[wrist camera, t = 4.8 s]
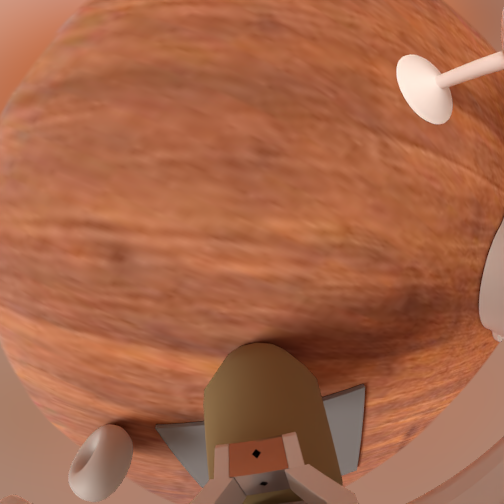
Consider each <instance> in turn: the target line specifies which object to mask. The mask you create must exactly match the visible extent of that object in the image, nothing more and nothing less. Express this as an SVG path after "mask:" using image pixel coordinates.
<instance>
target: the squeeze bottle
mask: <svg viewBox="0 0 504 504" xmlns="http://www.w3.org/2000/svg"><path fill="white" fill-rule="evenodd" d="M203 407H204V425H205V439H206V452H207V464H208V475H209V480H210V479H214V459H215V447H216V445H221V444H231V443H239V442H247V441H254V440H257V439H263V438H268V437H272V436H277V435H281V434H282V435H283V434H287V433H291V432H296V434H297V438H298V441H299V445H300V449H301V452H302V456H303V460H304V464H305V465H307V464H310V465H311V466H312V467H314V468H315V469H317V470H318V471H320V472H321V473H323V474H324V475H326V476H327V477H329V478H330V479H332V480H333V481H335V482H337V483H338V484H340V485H341V486H342V476H341V472H340V468H339V464H338V459H337V455H336V451H335V447H334V443H333V439H332V435H331V431H330V427H329V423H328V419H327V415H326V411H325V407H324V404H323V400H322V396H321V392H320V388H319V385H318V381H317V378H316V377H315V376H314V375H313V374H312V373H311V372H310V371H309V370H308V368H307V367H306V366H305V365H303V364H302V363H301V362H300V361H298V360H297V359H296V358H294V357H293V356H292V355H291V354H289V353H288V352H287V351H286V350H284V349H282V348H280V347H278V346H276V345H273V344H269V343H252V344H248V345H244V346H240V347H239V348H237V349H236V350H234V351H233V352H231V353H230V354H228V356H227V357H226V359H225V360H224V362H223V363H222V364H221V366H220V367H219V369H218V370H217V372H216V373H215V375H214V376H213V378H212V379H211V381H210V382H209V384H208V385H207V387H206V388H205V389H204V404H203ZM282 438H283V437H282ZM242 504H308V503H306V502H305V501H304V500H303V499H301V498H300V497H299V496H298V495H297V494H296V493H294V492H293V491H292V490H291V489H285V490H280V491H273V492H266V493H261V494H254V495H247V496H246V498H245V500H244V501H243V503H242Z"/></svg>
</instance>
